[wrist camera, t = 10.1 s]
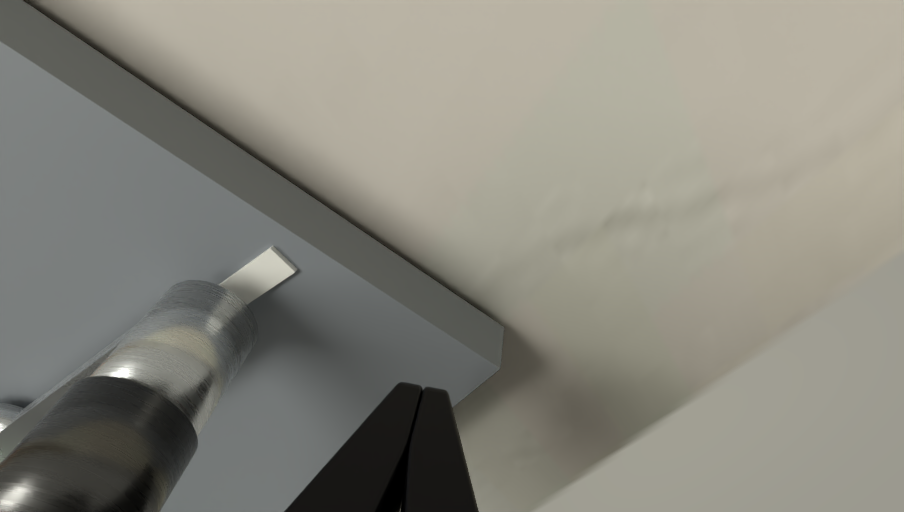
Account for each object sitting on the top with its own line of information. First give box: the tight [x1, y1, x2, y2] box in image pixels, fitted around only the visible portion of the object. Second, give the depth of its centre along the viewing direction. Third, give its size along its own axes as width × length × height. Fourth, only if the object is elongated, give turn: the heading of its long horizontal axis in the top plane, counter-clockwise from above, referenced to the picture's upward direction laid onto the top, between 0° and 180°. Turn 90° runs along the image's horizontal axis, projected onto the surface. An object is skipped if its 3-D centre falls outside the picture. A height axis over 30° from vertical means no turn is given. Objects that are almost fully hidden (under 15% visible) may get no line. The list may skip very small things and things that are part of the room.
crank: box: [0, 280, 258, 512], centre depth 11 cm, size 10×3×5 cm, turn 128°
